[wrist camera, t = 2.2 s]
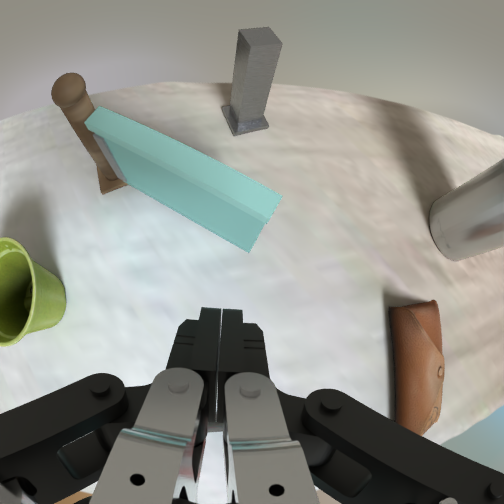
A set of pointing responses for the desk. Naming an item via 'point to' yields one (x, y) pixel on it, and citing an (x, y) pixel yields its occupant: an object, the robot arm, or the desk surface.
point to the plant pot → (26, 294)
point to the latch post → (252, 79)
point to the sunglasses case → (417, 364)
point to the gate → (184, 178)
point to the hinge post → (77, 112)
